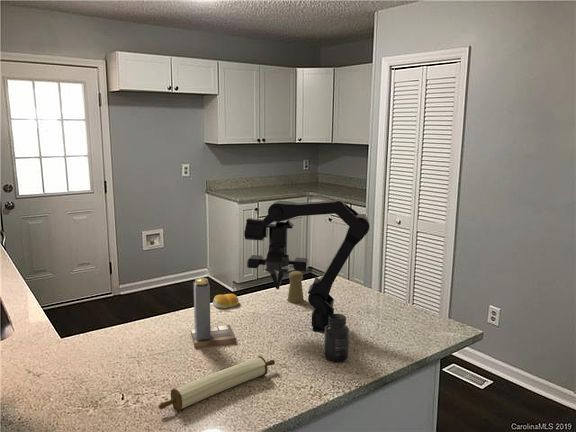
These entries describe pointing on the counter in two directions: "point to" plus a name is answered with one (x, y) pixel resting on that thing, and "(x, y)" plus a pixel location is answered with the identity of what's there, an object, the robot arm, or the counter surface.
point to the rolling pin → (217, 383)
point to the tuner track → (215, 336)
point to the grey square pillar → (202, 309)
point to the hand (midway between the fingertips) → (277, 288)
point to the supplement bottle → (336, 339)
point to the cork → (295, 287)
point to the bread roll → (225, 301)
